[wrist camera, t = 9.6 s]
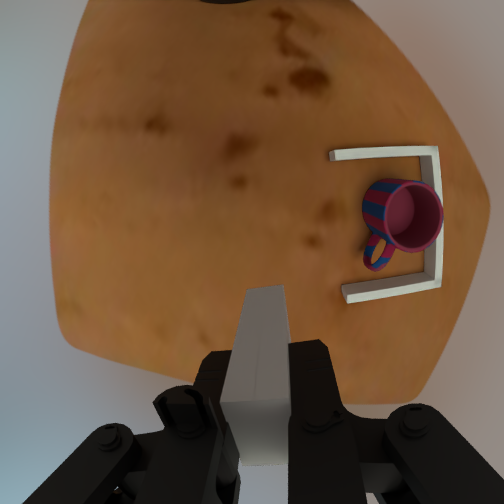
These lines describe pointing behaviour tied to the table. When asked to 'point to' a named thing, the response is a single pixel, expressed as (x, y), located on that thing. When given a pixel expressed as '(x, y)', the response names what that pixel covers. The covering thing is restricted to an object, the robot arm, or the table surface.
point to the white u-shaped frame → (431, 253)
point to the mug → (400, 218)
